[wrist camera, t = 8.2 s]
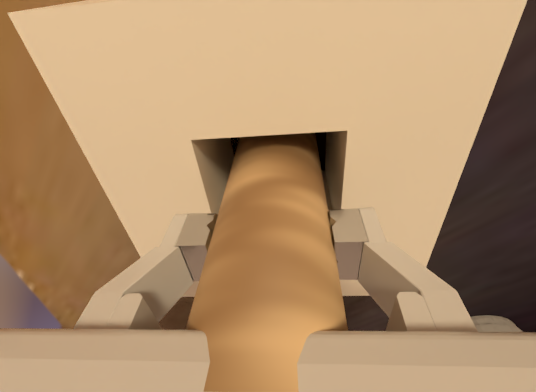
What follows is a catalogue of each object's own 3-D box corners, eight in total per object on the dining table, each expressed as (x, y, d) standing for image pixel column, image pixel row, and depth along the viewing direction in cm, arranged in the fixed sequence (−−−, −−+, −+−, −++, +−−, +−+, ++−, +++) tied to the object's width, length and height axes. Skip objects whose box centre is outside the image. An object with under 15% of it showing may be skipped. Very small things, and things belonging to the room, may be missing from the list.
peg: (316, 103, 14) (378, 393, 4) (315, 173, 16) (353, 455, 7) (234, 109, 14) (130, 385, 5) (245, 176, 17) (191, 446, 7)
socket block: (440, -41, 12) (545, -48, 7) (385, 218, 20) (415, 295, 15) (109, -4, 13) (7, 13, 8) (189, 224, 21) (162, 297, 17)
